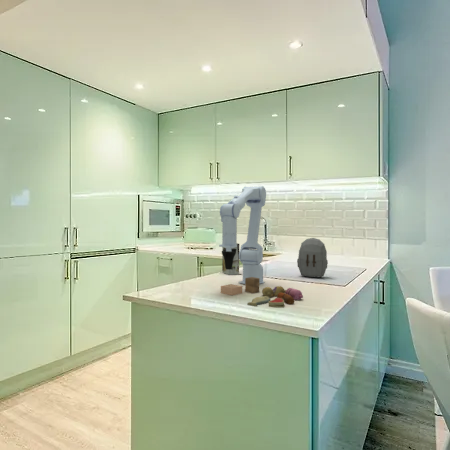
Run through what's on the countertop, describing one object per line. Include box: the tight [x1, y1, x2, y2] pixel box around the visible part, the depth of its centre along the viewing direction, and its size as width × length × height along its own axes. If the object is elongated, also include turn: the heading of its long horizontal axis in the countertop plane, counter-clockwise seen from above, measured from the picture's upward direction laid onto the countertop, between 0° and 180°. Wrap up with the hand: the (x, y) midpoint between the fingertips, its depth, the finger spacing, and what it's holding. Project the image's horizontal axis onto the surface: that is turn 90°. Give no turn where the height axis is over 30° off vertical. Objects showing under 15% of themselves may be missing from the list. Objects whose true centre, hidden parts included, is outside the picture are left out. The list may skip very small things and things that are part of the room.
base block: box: [220, 283, 243, 296], centre depth 139 cm, size 6×6×3 cm
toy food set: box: [247, 285, 304, 308], centre depth 128 cm, size 26×16×4 cm, turn 157°
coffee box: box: [221, 242, 240, 276], centre depth 187 cm, size 9×6×16 cm
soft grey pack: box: [296, 237, 329, 278], centre depth 178 cm, size 15×8×20 cm, turn 65°
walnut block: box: [244, 277, 260, 294], centre depth 142 cm, size 4×4×6 cm
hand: (229, 267), depth 140 cm, fingers open, 7 cm apart
